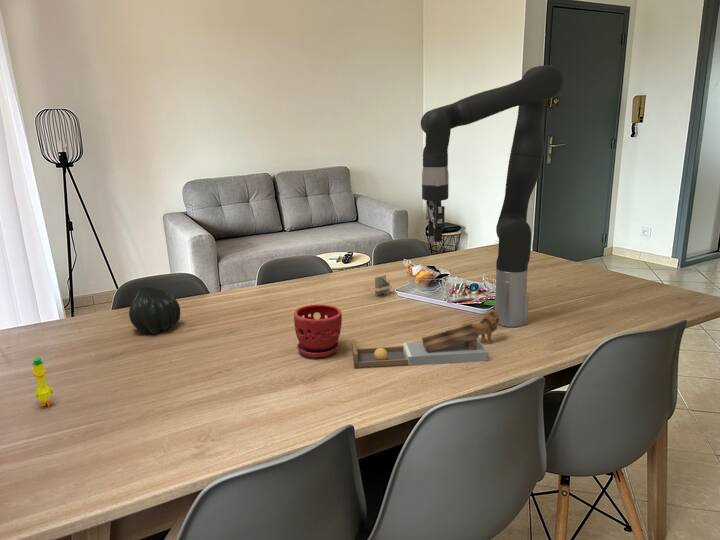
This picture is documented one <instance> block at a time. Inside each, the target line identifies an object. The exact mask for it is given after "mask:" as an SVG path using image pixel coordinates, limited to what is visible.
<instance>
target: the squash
mask: <svg viewBox="0 0 720 540" xmlns="http://www.w3.org/2000/svg"><path fill="white" fill-rule="evenodd" d="M128 316H129V320H130V323H131V324H132V326H134V327H135V329H137V330H138V331H140V332H141V333H143V334H150V333H151V334H158V333H160V332H161V330H167V329H168V328H171V327H173V326H175V325H176V324H178V323H179V320H180V318H181V307H180V304H179V302H178V300H176V298H175V296H174V295H172V294H171V293H170V292H168V291H166V290H163V289H161V288H156V287H152V286H141V287H140V288H139V289H138V291H137V293H136V295H135V298H134V299H133V301H132V303H131V305H130V308H129V310H128Z"/></svg>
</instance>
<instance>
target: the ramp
mask: <svg viewBox="0 0 720 540" xmlns="http://www.w3.org/2000/svg"><path fill="white" fill-rule="evenodd" d="M461 326H462V325H461ZM461 326H458V327H456V328H455V327H454V328H452V329H449V330H448V331H446V330H445V331H441V332H437V333H433V334H431V335H428V336H424V337H422V338H421V341H422V342H423V346H424V348H425V350H426V352H427V353H429V352H432V351H436V350H439V349H443V348H446V347H450V346H453V345H456V344H460V343H463V342H464V343H465V345H466V346H467V348H468V349H469V350H476V349H477V339H480V338H479V335H478V333H477V331H474V330H473V327H472V324H468V325H465V326H462V327H461Z"/></svg>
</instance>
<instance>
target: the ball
mask: <svg viewBox="0 0 720 540" xmlns="http://www.w3.org/2000/svg"><path fill="white" fill-rule="evenodd" d="M377 348H378V349H376V350H375V352H374V357H375V359H376V360H377V361H379V360H386V359H387V356H388V354H387V351H386V350H385V349H383V348H379V347H377Z"/></svg>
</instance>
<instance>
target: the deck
mask: <svg viewBox="0 0 720 540" xmlns="http://www.w3.org/2000/svg"><path fill="white" fill-rule="evenodd" d="M402 346H403V352H404V355H405V357H406V359H408V365H407V366H417V365H420V366H423V365H438V364H439V365H440V364H452V363H453V364H454V363H469V362H471V363H473V362H487V361H488V351H487V350H486V349H487V348H485V346H483V344H482V343H481V340H479V338H477V349H476V350H469V349H468V348H467V346H466V345H465V343H464V342H463V343H460V344H456V345H453V346H450V347H446V348H443V349H439V350H436V351H432V352H429V353H427V352H426V350H425V348H424V346H423V341H422V342H407V343H406V342H405V343H404V342H403V343H402Z"/></svg>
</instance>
